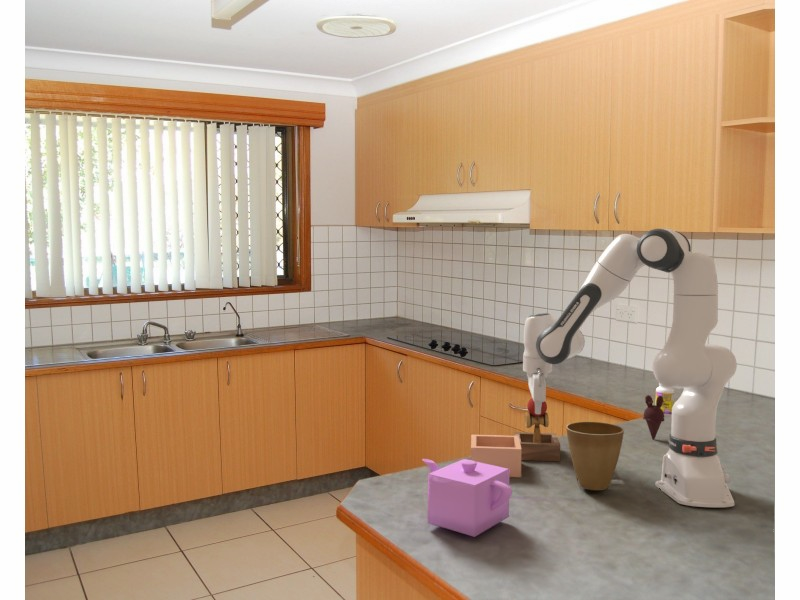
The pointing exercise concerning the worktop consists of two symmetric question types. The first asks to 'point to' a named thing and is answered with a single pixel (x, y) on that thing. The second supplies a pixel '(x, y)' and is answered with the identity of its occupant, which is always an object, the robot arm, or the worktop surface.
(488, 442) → the stand
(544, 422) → the kendama
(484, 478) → the teapot
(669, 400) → the supplement bottle
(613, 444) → the plant pot
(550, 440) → the block
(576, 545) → the worktop surface
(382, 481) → the worktop surface
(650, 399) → the icecream
